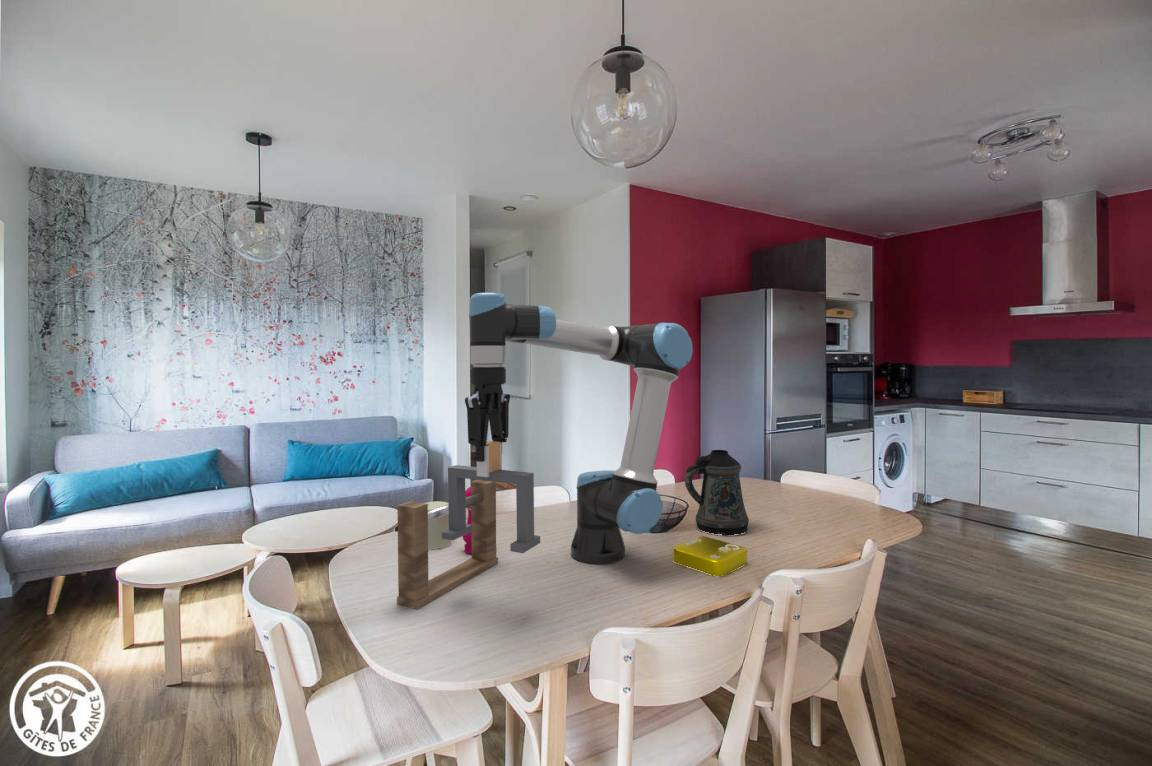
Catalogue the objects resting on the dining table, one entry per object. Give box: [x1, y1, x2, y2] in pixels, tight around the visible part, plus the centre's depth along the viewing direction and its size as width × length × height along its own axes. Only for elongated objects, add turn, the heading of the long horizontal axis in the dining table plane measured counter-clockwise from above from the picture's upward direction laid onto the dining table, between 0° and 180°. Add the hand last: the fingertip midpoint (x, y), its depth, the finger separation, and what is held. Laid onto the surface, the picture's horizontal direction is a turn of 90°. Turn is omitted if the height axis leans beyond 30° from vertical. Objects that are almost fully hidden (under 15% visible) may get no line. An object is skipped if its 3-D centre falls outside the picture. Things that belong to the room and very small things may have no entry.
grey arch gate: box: [442, 440, 541, 554], centre depth 118 cm, size 21×7×22 cm, turn 63°
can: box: [425, 500, 452, 550], centre depth 159 cm, size 9×9×12 cm
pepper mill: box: [462, 486, 472, 555], centre depth 153 cm, size 7×7×20 cm
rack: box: [396, 479, 499, 610], centre depth 132 cm, size 6×30×22 cm, turn 153°
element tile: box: [672, 535, 748, 577], centre depth 145 cm, size 15×15×5 cm
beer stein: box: [684, 449, 750, 535], centre depth 173 cm, size 16×19×25 cm
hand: (489, 473), depth 118 cm, fingers closed on grey arch gate, 4 cm apart
